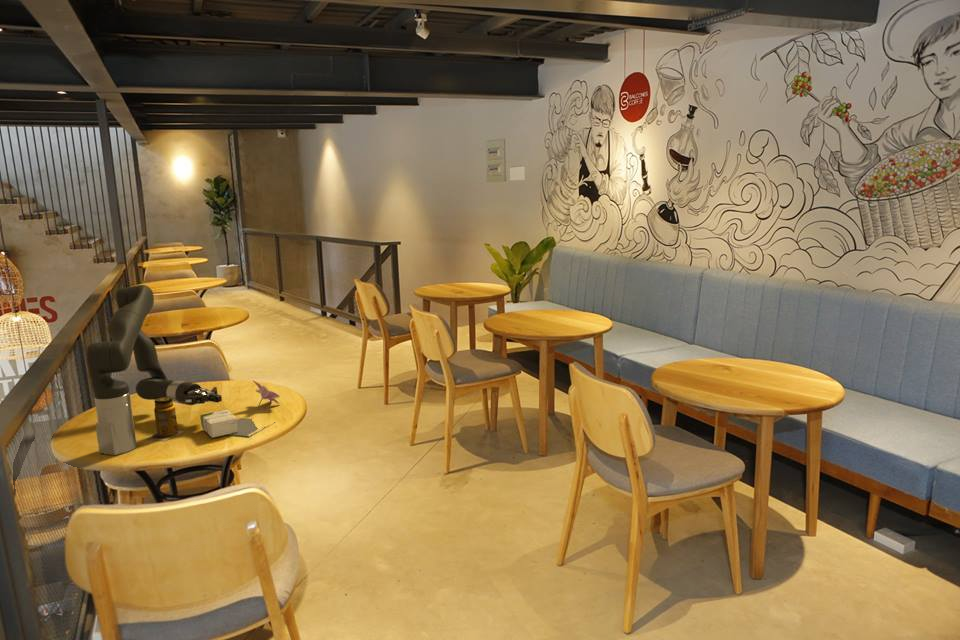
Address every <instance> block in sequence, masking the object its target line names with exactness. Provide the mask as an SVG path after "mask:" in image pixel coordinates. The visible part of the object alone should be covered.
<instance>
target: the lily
mask: <svg viewBox="0 0 960 640" xmlns="http://www.w3.org/2000/svg"><path fill="white" fill-rule="evenodd" d="M252 382H253V383H254V384H255V385H256V386H257V387H258V389H256V390H255V392H256V393H259V394H260V396H261V399H260V401H259V403H258V406H257V409H258V408H260V405H261V404H262V401H263V400H268V401H269V400H270V401H272V402H274V403H276V404H277V403H278V404H277V405H279V404H280V403H279V402H278V400H277V399H278V398H280V397H281V396H280V395H279V394H278V393H277V392H274V391H272V390H269V389H268V388H267V387H266V386H265V385H261V384H260V383H258V382H257V381H255V380H252ZM270 401H269V402H270Z"/></svg>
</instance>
